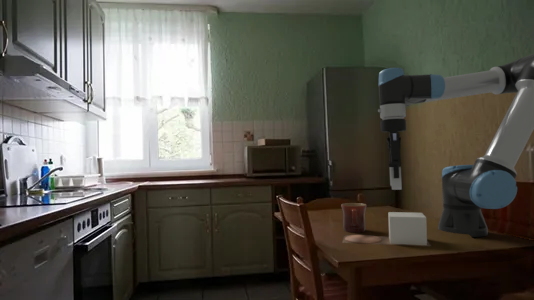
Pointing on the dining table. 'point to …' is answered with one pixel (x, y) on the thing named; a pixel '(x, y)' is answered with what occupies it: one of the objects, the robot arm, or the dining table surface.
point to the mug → (354, 217)
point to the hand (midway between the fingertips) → (395, 187)
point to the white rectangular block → (407, 228)
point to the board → (371, 240)
